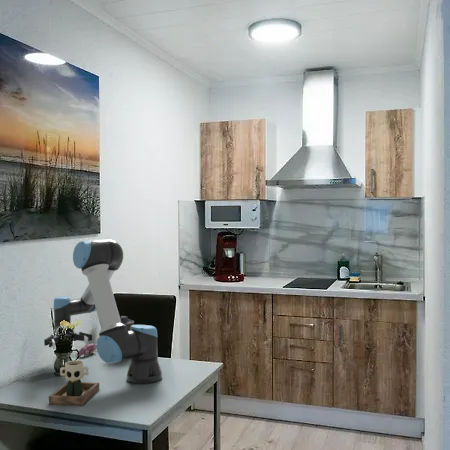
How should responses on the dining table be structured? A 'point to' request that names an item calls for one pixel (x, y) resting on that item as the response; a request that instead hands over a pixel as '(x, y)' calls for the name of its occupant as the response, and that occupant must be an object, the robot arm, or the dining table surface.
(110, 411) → the dining table surface
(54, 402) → the wooden tray
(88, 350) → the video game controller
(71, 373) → the character mug
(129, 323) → the canister
